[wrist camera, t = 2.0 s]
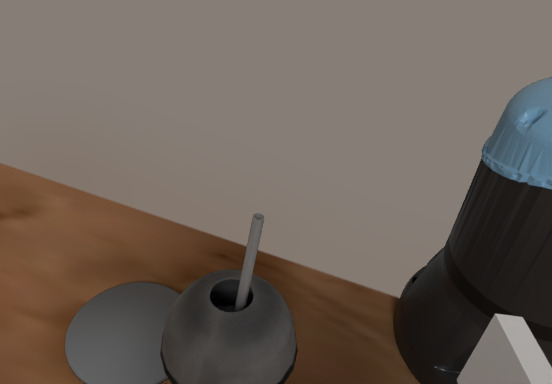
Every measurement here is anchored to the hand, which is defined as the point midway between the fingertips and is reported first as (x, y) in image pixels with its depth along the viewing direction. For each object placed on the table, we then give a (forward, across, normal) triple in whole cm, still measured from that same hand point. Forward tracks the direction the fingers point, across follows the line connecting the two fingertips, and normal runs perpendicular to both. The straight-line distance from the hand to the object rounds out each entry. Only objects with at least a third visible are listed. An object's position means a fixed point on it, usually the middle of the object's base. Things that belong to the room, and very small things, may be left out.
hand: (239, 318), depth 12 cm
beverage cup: (+10, +1, -23) cm, 25 cm away
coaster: (+18, -7, -22) cm, 29 cm away
